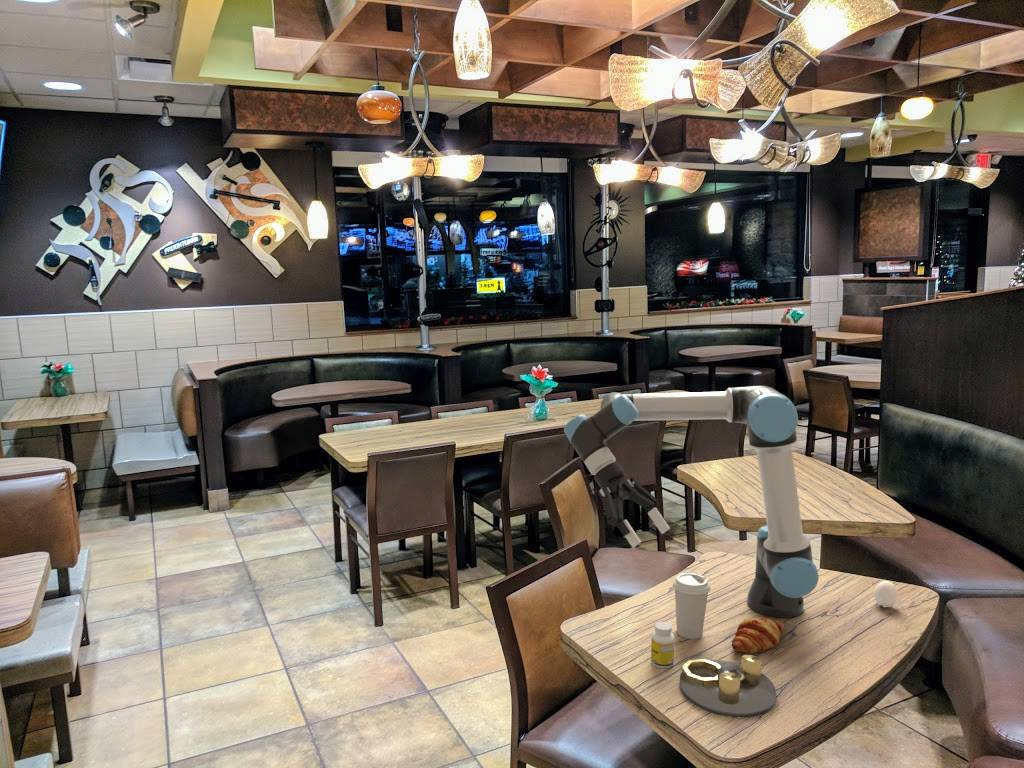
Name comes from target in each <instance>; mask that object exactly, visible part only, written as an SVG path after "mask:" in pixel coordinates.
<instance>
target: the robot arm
mask: <svg viewBox="0 0 1024 768" xmlns="http://www.w3.org/2000/svg"><path fill="white" fill-rule="evenodd" d="M599 407H600V409H599V410H598V411H597V412H595V413H594V414H593V415H591V416H590V417H588V416H586V414H579V415H577V416H575V417H573V418H571V419H570V420H568V422H566V424H564V425H565V426H564V427H563V432H564V434H565V435H566V437H567V439H568V441H569V444H570V445H571V446H572V448H574V450H575V452H576V453H577V454H578V456H579V458H580V459H581V460H582V463H584V464H585V466H586V468H587V470H588V471H589V472H590V474H591V475H593V476H594V480H595V482H596V483H597V485H598V486H599V488H600V489H599V490H598V491H597V494H598V496H599V498H600V499H601V502H602V506H603V510H604V513H605V518H606V520H607V521H606V522H607V524H608V525H609V526H612V527H613V528H618V530H619V531H620V532H621V534H622V535H623V536H624V537H625V538H626V540H627V542H628V543H629V545H630V546H631V548H632V549H634V548H636V546H638V545H639V544H641V543H642V540H641V539H640V538H639V536H638V534H637V533H636V532H635V530H634V529H633V527H632V526H631V524H630V522H629V521H628V520H627V519H624V512H623V511H624V510H623V500H628V501H629V500H631V501H632V502H634V503H635V504H637V505H638V506H640V507H642V508H644V510H646V511H648V512H647V514H648V516H649V517H650V519H651V520H652V522H653V523H654V525H655V526H656V528H657V529H658V531H659V532H660V534H661V535H663V534H665V533H666V532H667V531H668V530H670V529H671V527H670V526H669V524H668V523H667V521H666V520H665V519H664V517H663V515H662V513H661V512H660V511H659V509H658V506H659V501H660V500H659V499H657V498H656V497H655V496H654V495H653V494H651V493H650V492H649V491H648V490H647V489H645V487H643V486H642V485H641V484H640V483H639V482H638V481H637V480H636V479H635V478H634V476H631V477H629V478H628V479H626V478H625V471H624V470H625V469H624V468H623V467H622V466H621V465H620V463H619V462H618V461H617V459H616V457H615V455H614V454H613V453H612V451H611V450H610V448H609V447H608V445H607V444H606V441H608V440H609V439H610V438H612V437H614V436H615V435H616V434H617V433H619V432H620V431H622V430H623V429H624V428H626V427H627V426H629V425H631V424H632V423H633V422H634V421H636V422H637V421H640V422H641V421H685V420H686V421H687V420H689V421H690V420H726V421H727V422H728V423H735V424H736V423H738V424H739V423H740V424H744V425H746V428H747V434H748V441H749V442H748V443H749V446H750V447H751V448H753V450H755V452H756V455H757V461H758V463H757V465H758V469H759V478H760V483H761V484H760V485H761V493H762V499H763V506H764V513H765V521H766V522H765V523H766V525H763V526H761V527H760V528H758V530H757V536H756V555H755V556H756V557H755V573H754V578H753V581H752V583H751V586H750V588H749V591H748V592H747V598H746V599H747V601H746V602H747V605H748V607H750V608H751V609H752V610H754V611H755V612H757V613H761V614H762V615H766V616H770V617H776V618H793V617H797V616H799V615H801V614H802V613H804V605H805V604H804V603H805V602H804V598H803V597H805V596H808V595H809V594H811V593H812V592H813V591H814V590H815V589H816V588H817V586H818V583H819V571H818V568H817V566H816V564H814V561H813V560H814V559H813V552H812V547H811V540H810V538H808V537H807V536H805V535H804V533H803V532H804V531H803V523H802V518H801V510H800V502H799V494H798V493H799V492H798V486H797V480H796V479H797V478H796V470H795V465H794V458H793V457H794V456H793V449H792V448H793V446H794V445H795V444H797V441H798V439H797V431H796V430H797V429H796V428H797V427H798V423H799V416H798V411H797V409H796V406H795V405H794V403H793V402H792V400H791V399H789V398H788V397H787V396H786V395H785V394H783V393H781V392H779V391H778V390H776V389H775V388H773V387H770V386H766V385H752V386H740V387H738V386H737V387H728V388H727V389H726V390H725V391H702V392H670V393H669V392H665V393H664V392H663V393H662V392H661V393H633V394H630V393H628V394H625V393H624V394H623V393H619V392H614V391H613V392H610V393H608V394H606V395H605V396H604V397H603V399H602V400H601V402H600V406H599Z"/></svg>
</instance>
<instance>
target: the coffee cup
mask: <svg viewBox="0 0 1024 768" xmlns="http://www.w3.org/2000/svg"><path fill="white" fill-rule="evenodd" d="M672 587H673V589H674V596H675V597H674V598H675V599H674V600H675V619H676V620H675V621H676V633H677V635H679V636H680V637H681V638H684V639H686V640H687V639H688V640H698V639H700V638H701V637H702V636H703V630H704V623H705V619H706V618H705V616H706V610H707V602H708V597H709V592H710V591H711V585H710V582H709V581H708V578H706V577H705V576H703V575H701V574H697V573H693V572H692V573H691V572H685V573H679V574H678V575H676V578H675V579H674V581H673V582H672Z"/></svg>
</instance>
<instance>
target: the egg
mask: <svg viewBox="0 0 1024 768" xmlns="http://www.w3.org/2000/svg"><path fill="white" fill-rule="evenodd" d="M873 595H874V596H873V597H874V600H875V601H876V604H878V605H879V606H880V605H882V606H887V607H889V608H892V607H894V606H895V605H896V604H897V602H898V599H899V592H898V589H897V588H896V586H895V584H893V583H892V582H891V581H889V580H883V581H880V582H879V583H878V584H877V585H876V587H875V589H874V593H873ZM882 606H881V607H882ZM891 606H892V607H891Z"/></svg>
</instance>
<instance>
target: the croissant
mask: <svg viewBox="0 0 1024 768" xmlns="http://www.w3.org/2000/svg"><path fill="white" fill-rule="evenodd" d="M783 630H784V623H783V622H782V621H778V620H777V619H774V618H773V619H769V618H768V617H764V616H760V617H759V618H757V617H750V618H745V619H744V620H743V621H742V622H740V623H739V624H738V626H737V629H736V631H735V636H734V638H733V639H731V648H732V649H733V650H734V651H737V652H744V653H747V654H748V653H749V654H754V653H757V652H765V651H768V650H769V649H772V648H774V647H776V646H777V645H778V644H779V642H780V640H781V636H782V632H783Z"/></svg>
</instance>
